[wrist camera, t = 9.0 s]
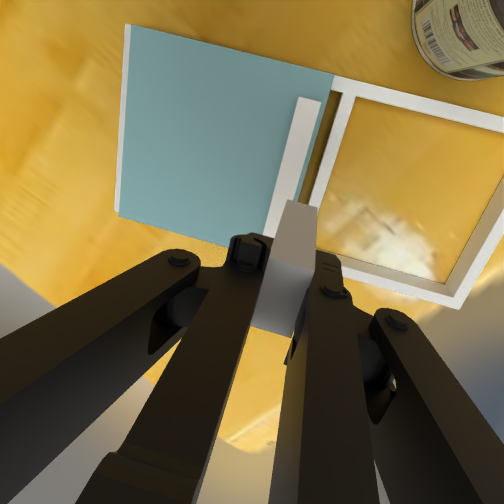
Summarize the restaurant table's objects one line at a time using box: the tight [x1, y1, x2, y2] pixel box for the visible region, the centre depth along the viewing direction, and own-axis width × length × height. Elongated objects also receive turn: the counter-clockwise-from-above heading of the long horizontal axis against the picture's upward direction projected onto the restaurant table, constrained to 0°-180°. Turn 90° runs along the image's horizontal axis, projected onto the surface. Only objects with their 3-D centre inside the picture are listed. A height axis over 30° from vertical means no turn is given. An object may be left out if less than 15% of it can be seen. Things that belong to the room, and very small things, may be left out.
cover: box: [119, 24, 335, 248], centre depth 29 cm, size 16×16×4 cm
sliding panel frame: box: [114, 23, 504, 310], centre depth 31 cm, size 16×34×2 cm, turn 77°
